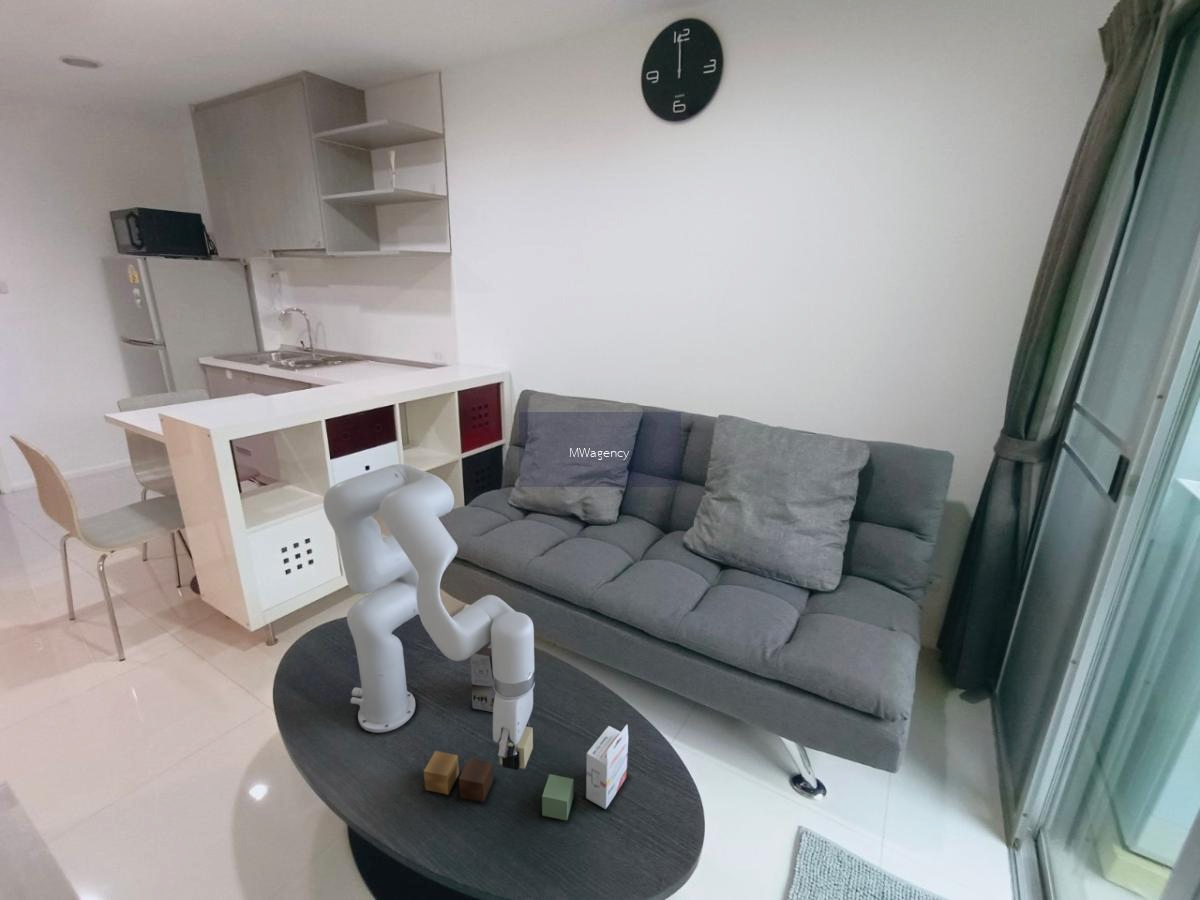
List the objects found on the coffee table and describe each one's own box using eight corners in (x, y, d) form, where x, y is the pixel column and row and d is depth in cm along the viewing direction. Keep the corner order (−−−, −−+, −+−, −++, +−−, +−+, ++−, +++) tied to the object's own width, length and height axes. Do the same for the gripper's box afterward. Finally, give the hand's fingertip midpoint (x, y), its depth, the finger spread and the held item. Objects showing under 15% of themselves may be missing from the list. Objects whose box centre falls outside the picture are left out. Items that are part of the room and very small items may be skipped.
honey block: (425, 789, 111) (423, 771, 109) (437, 768, 115) (435, 750, 114) (448, 794, 110) (446, 776, 108) (459, 773, 114) (458, 755, 113)
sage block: (541, 815, 106) (541, 796, 105) (549, 792, 111) (549, 773, 109) (567, 820, 105) (567, 801, 104) (573, 797, 110) (573, 778, 108)
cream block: (499, 764, 104) (498, 743, 103) (508, 743, 109) (508, 723, 107) (524, 769, 103) (524, 748, 102) (533, 747, 108) (532, 727, 106)
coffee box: (497, 713, 130) (495, 657, 125) (471, 708, 131) (468, 652, 126) (510, 686, 138) (509, 632, 133) (486, 681, 139) (484, 628, 134)
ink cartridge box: (606, 767, 117) (609, 712, 112) (626, 778, 114) (630, 723, 110) (584, 798, 110) (585, 741, 105) (605, 811, 107) (608, 753, 103)
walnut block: (460, 797, 109) (458, 778, 108) (470, 775, 114) (469, 757, 112) (483, 802, 108) (482, 783, 107) (493, 780, 113) (492, 762, 111)
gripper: (510, 645, 109) (513, 717, 115) (475, 709, 93) (480, 789, 99) (547, 650, 107) (547, 724, 113) (517, 716, 92) (520, 798, 97)
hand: (516, 754), depth 106 cm, fingers closed on cream block, 5 cm apart
